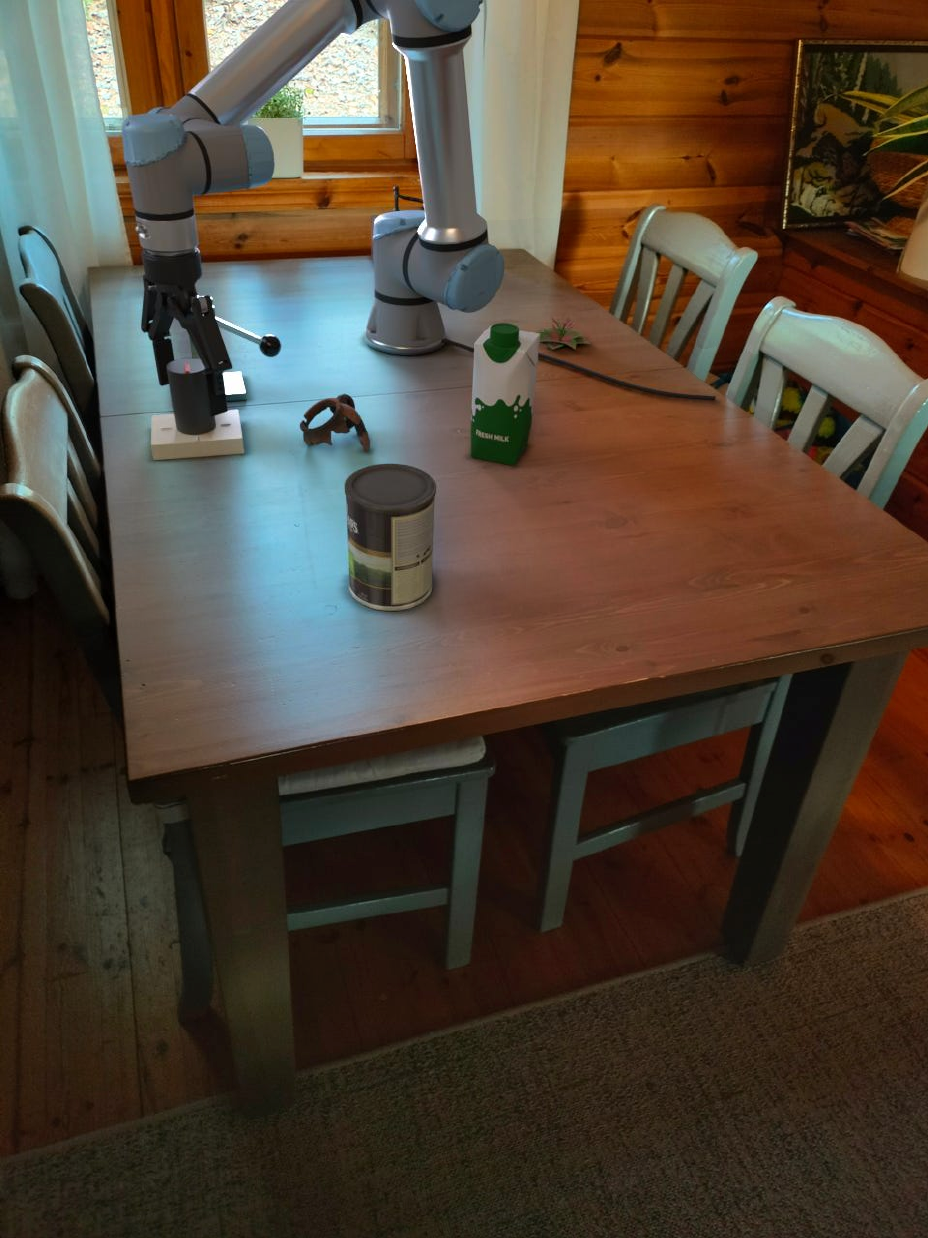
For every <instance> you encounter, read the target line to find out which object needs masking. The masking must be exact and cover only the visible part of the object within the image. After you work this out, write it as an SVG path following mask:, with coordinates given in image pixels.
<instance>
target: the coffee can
mask: <svg viewBox="0 0 928 1238" xmlns="http://www.w3.org/2000/svg"><path fill="white" fill-rule="evenodd" d="M436 494H437V484H436V481H435V479H434V478H433V476H431V475H430V474H429V473H428V472H427V471H425V470H422V469H420V468H418V467H415V466H411V465H408V464H402V463H378V464H372V465H368V466H364V467H362V468H360V469H357V470H355V471H354V472H352V473H351V474H350V475H348V476H347V478H346V479H345V481H344V495H345V506H346V532H347V533H346V534H347V552H348V553H347V556H348V558H347V560H348V591H349V594H350V595H351V596H352V598H353V600H355V601H356V602H358V603H359V604H361V605H362V606H364V607H367V608H370V609H372V610H376V611H382V612H399V611H404V610H408V609H412V608H415V607H416V606H419V605H420V604H422V603H424V602H425V601H426V600H427V599H428V598H429V597H430V595H431V594H432V591H433V560H434V559H433V558H434V530H435V529H434V527H435V503H436V502H435V499H436Z"/></svg>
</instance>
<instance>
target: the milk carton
mask: <svg viewBox="0 0 928 1238" xmlns="http://www.w3.org/2000/svg"><path fill="white" fill-rule="evenodd" d="M539 340H540V334H539V333H535V332H533V331H526V330H520V328H519V327H518V325H515V324H511V323H508V322H507V323H506V322H505V323H504V322H501V323H495V324H491V325H490V326H489V327H488V328H487V329H485V330H484V331H483V332H482V333H481V335H479V337H478V338H477V339H476V341H475V342H474V344H473V345H474V347H473V348H474V352H473V356H474V357H473V371H472V372H473V373H472V390H471V391H472V392H471V409H470V410H471V412H470V458H473V459H479V460H482V461H483V460H484V461H487V462H493V463H498V464H502V465H503V464H504V465H508V466H513V467H515V465H516V464H517V463H518V461H519V459H520V458H521V457H522V455H523V454H524V452H525V450H526V449H527V447H528V444H529V439H530V433H531V429H532V423H533V414H534V406H535V405H534V404H535V403H534V402H535V394H536V385H537V374H538V364H539V357H538V353H539V349H540V342H539Z"/></svg>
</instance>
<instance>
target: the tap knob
mask: <svg viewBox="0 0 928 1238" xmlns="http://www.w3.org/2000/svg"><path fill="white" fill-rule="evenodd" d="M204 369H205V367H204V365H203V363H202V361H201V359H198V358H192V357H181V358H178V359H175V360H174V361H171V362H170V363H168V364H167V373H168V380H169V384H168V385H169V391H170V392H169V393H170V398H171V404H172V410H173V414H174V417H175V423H176V429H177V430H178V431H179V432H181V433H184V434H188V435H199V434H204V433H208V432H210V431H212V430H213V429H214V428H215V427H216V420H215V416H212V417H211V416H209V415H208V408H207V401H206V393H205V386H204V379H203V374H202V371H203V370H204Z"/></svg>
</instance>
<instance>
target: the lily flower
mask: <svg viewBox="0 0 928 1238" xmlns="http://www.w3.org/2000/svg"><path fill="white" fill-rule="evenodd" d="M555 317H556V318H558V316H557V315H555ZM550 319H551V321H552V322H553V323H554V324H556V326H557V327H556V326H555V325H554V324H551V327H549V328H543V331H535V332H534V333H539V334H540V340H539V343H542V342H546V344H547V346H548V347H549V348H550V349H551V350H552V351H553V350H555V349H559V348H561V347H564V346H568V347H570V348H572V349H573V350H576V348H577V345H579V344H592V343H591V342H590V341H588V340H587V339H586V338H583V337H581V336H585V334H583V333H580V332H578V331H576V330H572V329H573V326H571V325H572V323H570V322H571V320H570V317H568V318H566V321H562V323H560V320H559V319H557V320H558V322H557V321H556V320H555V319H554V318H553V317H550ZM564 319H565V317H563V318H562V320H564ZM568 323H569V324H568ZM567 325H568V326H567ZM566 326H567V327H566Z"/></svg>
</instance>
